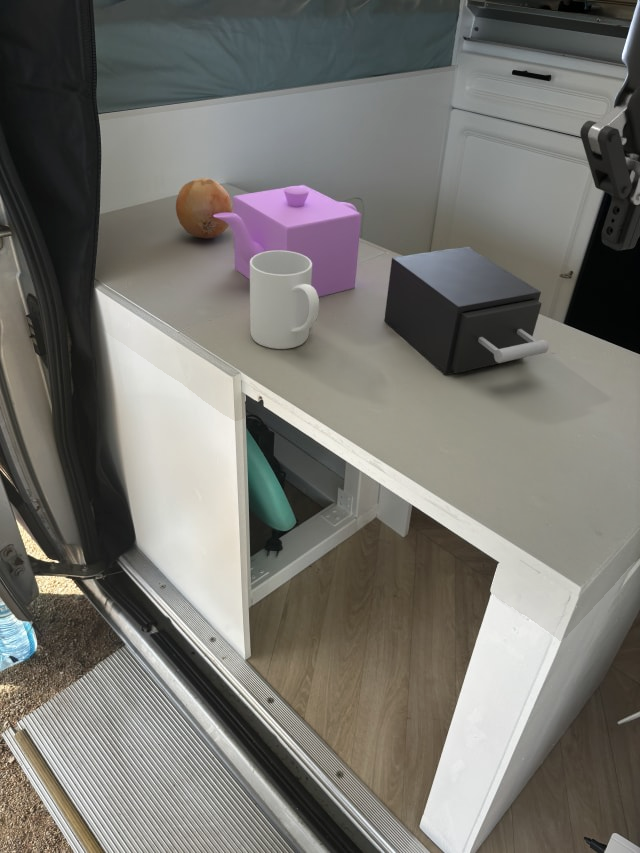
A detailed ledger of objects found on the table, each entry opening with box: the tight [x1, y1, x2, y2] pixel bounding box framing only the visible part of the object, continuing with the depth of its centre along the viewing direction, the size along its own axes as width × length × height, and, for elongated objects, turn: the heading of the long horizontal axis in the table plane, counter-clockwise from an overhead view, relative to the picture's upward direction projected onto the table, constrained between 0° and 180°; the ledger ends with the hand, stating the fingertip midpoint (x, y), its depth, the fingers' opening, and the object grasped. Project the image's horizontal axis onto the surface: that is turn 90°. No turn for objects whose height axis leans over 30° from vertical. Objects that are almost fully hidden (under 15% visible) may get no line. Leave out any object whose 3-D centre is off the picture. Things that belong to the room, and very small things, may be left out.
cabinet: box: [383, 246, 542, 376], centre depth 88 cm, size 16×13×10 cm
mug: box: [249, 250, 320, 350], centre depth 84 cm, size 12×8×10 cm, turn 33°
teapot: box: [213, 184, 362, 298], centre depth 99 cm, size 15×25×14 cm, turn 125°
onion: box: [175, 177, 233, 239], centre depth 113 cm, size 10×10×10 cm
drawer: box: [451, 300, 549, 374], centre depth 85 cm, size 20×11×8 cm, turn 25°
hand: (617, 246), depth 53 cm, fingers closed
